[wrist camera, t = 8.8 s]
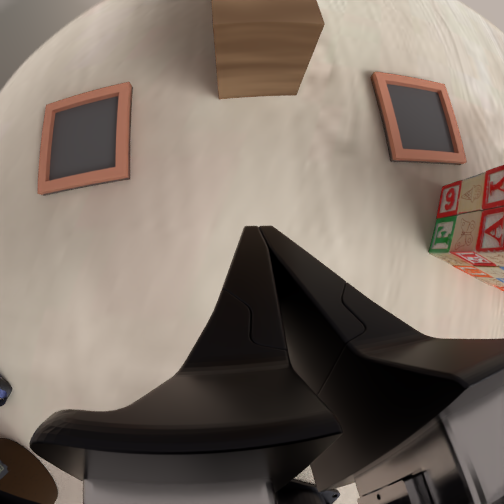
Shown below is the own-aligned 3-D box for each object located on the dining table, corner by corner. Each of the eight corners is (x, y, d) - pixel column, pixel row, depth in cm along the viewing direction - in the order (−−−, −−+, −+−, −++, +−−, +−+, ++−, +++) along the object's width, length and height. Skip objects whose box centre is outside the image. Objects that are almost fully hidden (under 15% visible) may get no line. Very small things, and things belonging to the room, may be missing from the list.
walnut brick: (295, 95, 22) (324, 24, 13) (219, 99, 22) (213, 24, 13) (272, -12, 22) (283, -77, 13) (211, -10, 22) (208, -76, 13)
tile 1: (130, 179, 21) (125, 175, 20) (43, 195, 21) (37, 193, 20) (132, 87, 21) (129, 81, 20) (51, 109, 21) (46, 104, 20)
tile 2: (460, 164, 23) (466, 162, 22) (390, 161, 22) (396, 158, 21) (439, 88, 23) (444, 84, 22) (370, 77, 22) (374, 71, 21)
